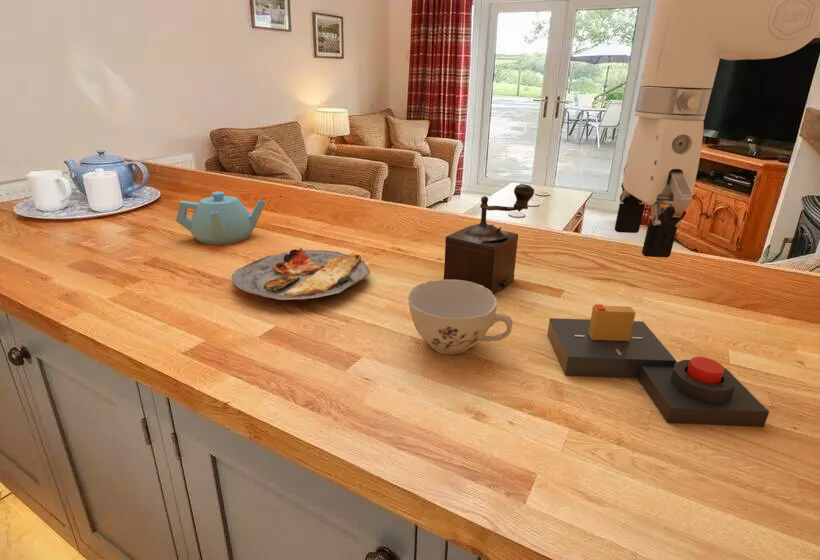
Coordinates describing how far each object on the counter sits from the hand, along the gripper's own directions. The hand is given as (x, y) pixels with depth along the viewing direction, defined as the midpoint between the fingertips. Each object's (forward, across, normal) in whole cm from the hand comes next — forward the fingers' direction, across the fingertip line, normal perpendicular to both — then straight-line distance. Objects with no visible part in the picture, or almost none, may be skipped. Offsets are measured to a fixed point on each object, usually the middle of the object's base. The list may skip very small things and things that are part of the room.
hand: (639, 243), depth 64 cm
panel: (+17, -1, +2) cm, 17 cm away
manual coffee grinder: (+17, +27, +16) cm, 36 cm away
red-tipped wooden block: (+14, -1, +2) cm, 14 cm away
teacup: (+17, 0, +23) cm, 29 cm away
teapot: (+18, +47, +76) cm, 91 cm away
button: (+13, -10, -6) cm, 18 cm away
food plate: (+18, +22, +51) cm, 58 cm away
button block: (+17, -10, -6) cm, 21 cm away
